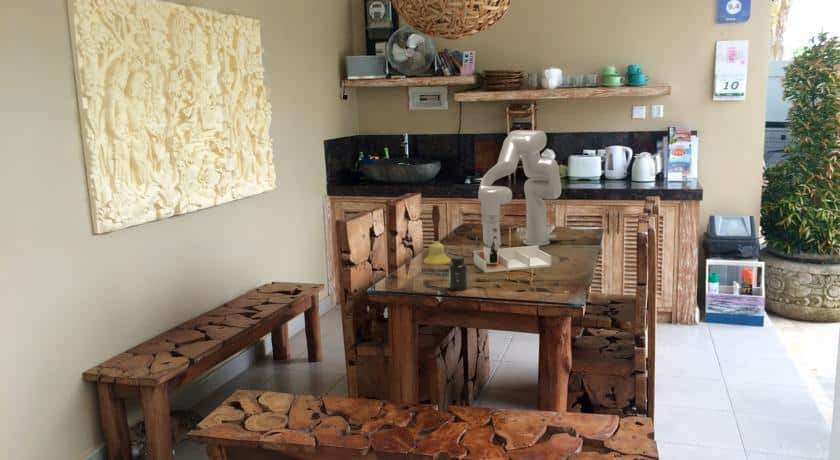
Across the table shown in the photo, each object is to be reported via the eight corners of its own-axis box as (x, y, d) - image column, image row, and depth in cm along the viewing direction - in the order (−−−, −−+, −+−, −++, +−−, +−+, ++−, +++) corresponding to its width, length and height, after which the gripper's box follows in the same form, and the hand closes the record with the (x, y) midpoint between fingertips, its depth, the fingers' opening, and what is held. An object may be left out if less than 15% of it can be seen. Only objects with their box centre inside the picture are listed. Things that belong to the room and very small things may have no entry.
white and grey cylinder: (481, 263, 298) (481, 247, 297) (485, 260, 304) (485, 244, 303) (497, 264, 296) (497, 248, 294) (501, 260, 302) (501, 244, 301)
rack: (537, 258, 313) (537, 245, 312) (551, 266, 299) (551, 252, 298) (474, 264, 307) (473, 250, 306) (484, 272, 293) (484, 258, 292)
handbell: (430, 265, 308) (429, 208, 303) (418, 260, 319) (416, 204, 314) (456, 262, 313) (454, 205, 308) (443, 256, 324) (441, 202, 319)
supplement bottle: (447, 290, 269) (446, 259, 267) (452, 285, 275) (452, 255, 273) (464, 291, 266) (463, 260, 264) (469, 286, 273) (469, 256, 270)
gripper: (506, 221, 289) (506, 265, 293) (492, 214, 306) (493, 256, 309) (488, 223, 288) (489, 266, 291) (475, 216, 304) (476, 257, 307)
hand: (491, 260), depth 300 cm, fingers closed on white and grey cylinder, 5 cm apart
